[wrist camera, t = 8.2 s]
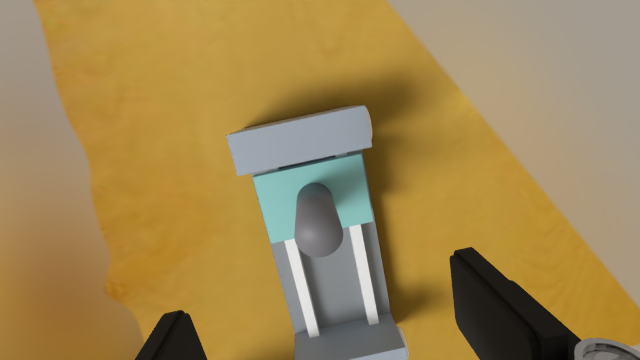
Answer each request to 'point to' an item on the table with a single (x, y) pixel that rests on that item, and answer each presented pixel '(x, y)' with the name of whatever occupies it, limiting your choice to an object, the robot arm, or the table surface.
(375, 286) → the rail track
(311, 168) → the carriage
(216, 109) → the table surface
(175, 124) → the table surface
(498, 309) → the robot arm
